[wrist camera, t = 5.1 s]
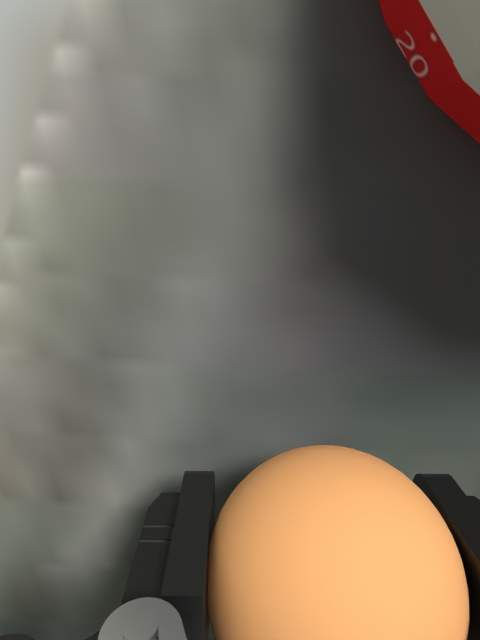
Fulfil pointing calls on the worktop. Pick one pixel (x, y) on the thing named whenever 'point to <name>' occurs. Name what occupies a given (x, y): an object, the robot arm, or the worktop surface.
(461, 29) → the white dome
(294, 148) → the worktop surface
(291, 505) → the ball
